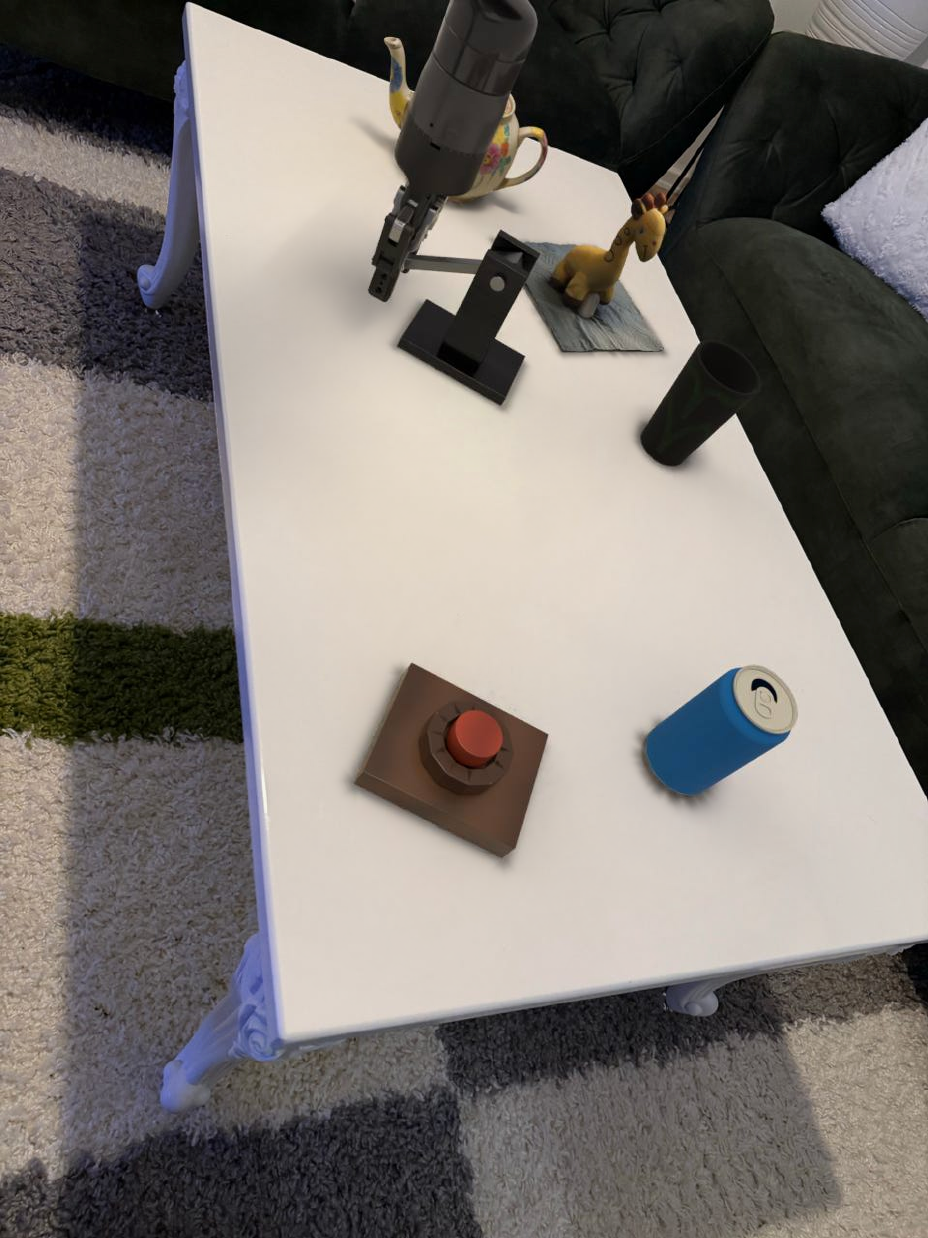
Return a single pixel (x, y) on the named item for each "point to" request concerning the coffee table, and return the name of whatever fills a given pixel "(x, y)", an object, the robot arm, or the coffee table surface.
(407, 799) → the button block
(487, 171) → the teapot
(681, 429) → the cup
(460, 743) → the button
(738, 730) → the beverage can
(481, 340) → the bracket
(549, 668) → the coffee table surface
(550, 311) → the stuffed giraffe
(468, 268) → the lever
